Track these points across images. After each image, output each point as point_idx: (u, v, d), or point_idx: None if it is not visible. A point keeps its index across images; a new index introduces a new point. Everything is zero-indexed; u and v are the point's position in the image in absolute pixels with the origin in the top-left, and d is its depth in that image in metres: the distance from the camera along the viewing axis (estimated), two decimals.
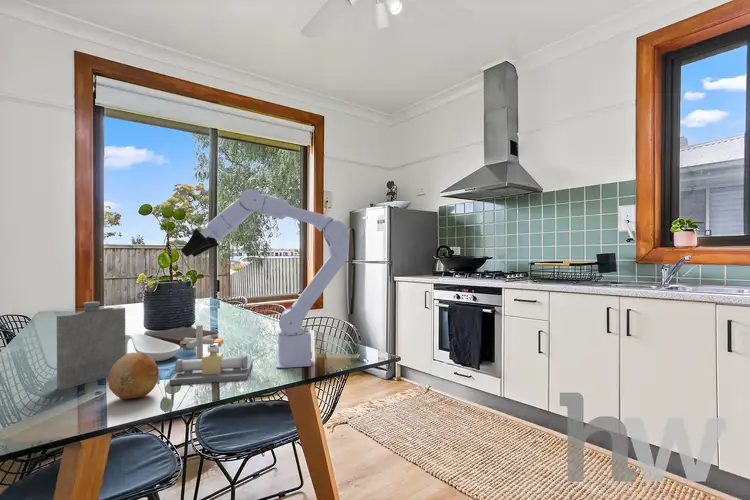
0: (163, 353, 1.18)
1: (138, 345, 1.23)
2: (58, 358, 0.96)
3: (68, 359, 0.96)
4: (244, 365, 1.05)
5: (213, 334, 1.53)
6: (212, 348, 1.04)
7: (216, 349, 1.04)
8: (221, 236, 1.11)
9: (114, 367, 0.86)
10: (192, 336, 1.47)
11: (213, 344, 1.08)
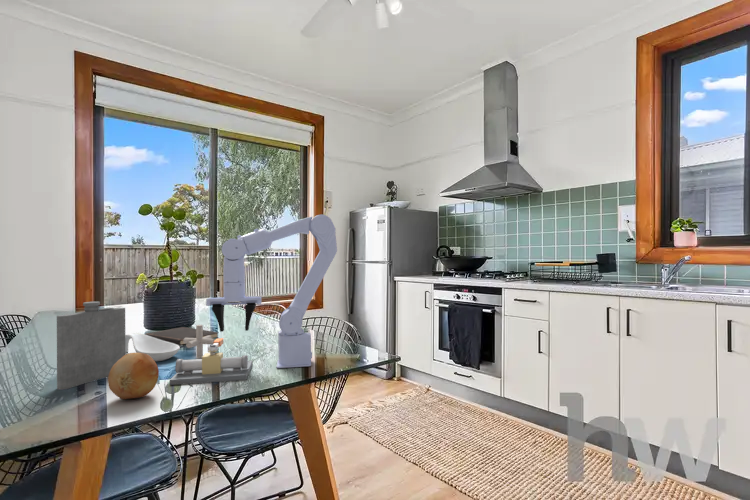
0: (162, 353, 1.18)
1: (138, 345, 1.23)
2: (58, 358, 0.96)
3: (68, 359, 0.96)
4: (244, 365, 1.05)
5: (213, 334, 1.53)
6: (212, 348, 1.04)
7: (216, 349, 1.04)
8: (227, 296, 1.10)
9: (114, 367, 0.86)
10: (192, 336, 1.47)
11: (213, 344, 1.08)
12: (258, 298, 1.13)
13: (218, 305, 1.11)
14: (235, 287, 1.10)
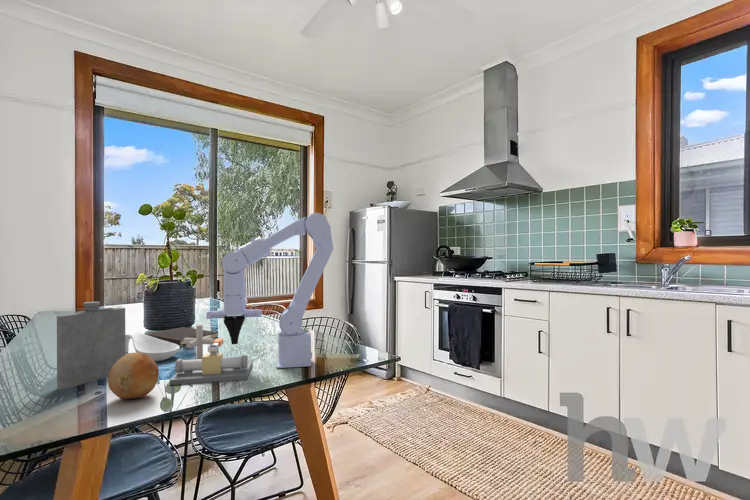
0: (162, 353, 1.18)
1: (138, 345, 1.23)
2: (58, 358, 0.96)
3: (68, 359, 0.96)
4: (244, 365, 1.05)
5: (213, 334, 1.53)
6: (212, 348, 1.04)
7: (216, 349, 1.04)
8: (227, 309, 1.10)
9: (114, 367, 0.86)
10: (192, 336, 1.47)
11: (213, 344, 1.08)
12: (258, 311, 1.13)
13: (230, 318, 1.11)
14: (235, 300, 1.10)
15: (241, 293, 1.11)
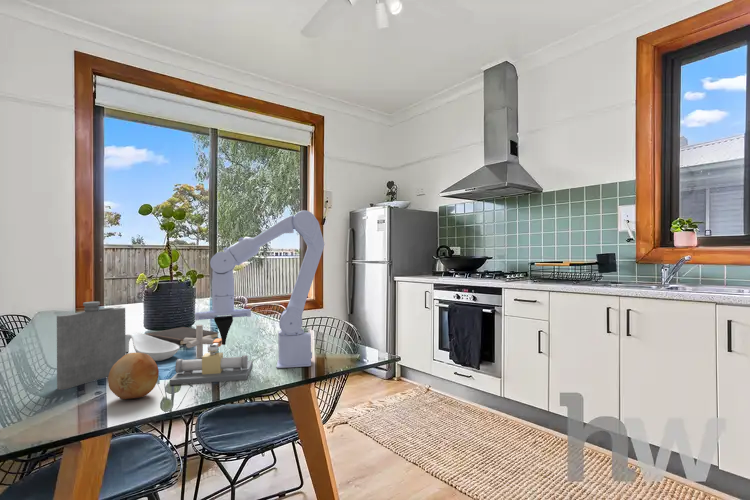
0: (161, 353, 1.18)
1: (138, 345, 1.23)
2: (58, 358, 0.96)
3: (68, 359, 0.96)
4: (244, 365, 1.05)
5: (213, 334, 1.53)
6: (212, 348, 1.04)
7: (216, 349, 1.04)
8: (218, 309, 1.09)
9: (114, 367, 0.86)
10: (192, 336, 1.47)
11: (213, 344, 1.08)
12: (248, 311, 1.14)
13: (220, 318, 1.11)
14: (226, 301, 1.10)
15: (230, 293, 1.10)
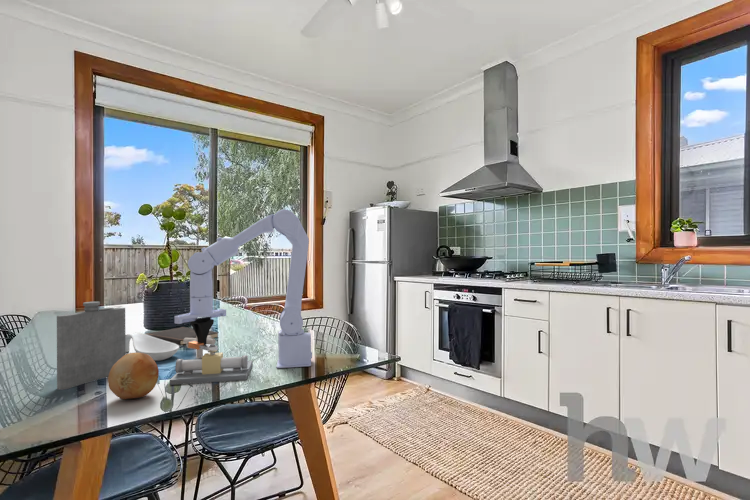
0: (161, 353, 1.18)
1: (138, 344, 1.24)
2: (58, 358, 0.96)
3: (68, 359, 0.96)
4: (244, 365, 1.05)
5: (213, 334, 1.53)
6: (215, 347, 1.04)
7: None
8: (202, 311, 1.07)
9: (114, 367, 0.86)
10: (192, 336, 1.47)
11: (203, 345, 1.06)
12: (224, 310, 1.15)
13: (202, 320, 1.09)
14: (210, 301, 1.09)
15: (208, 294, 1.09)
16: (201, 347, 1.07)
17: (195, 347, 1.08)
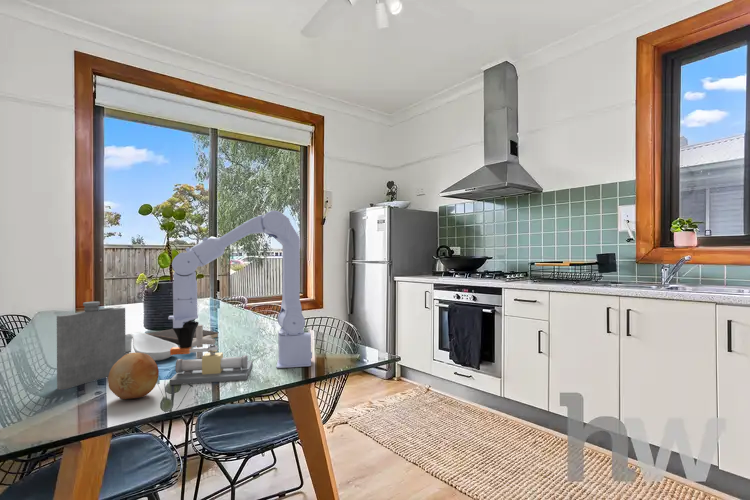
0: (159, 353, 1.18)
1: (138, 344, 1.24)
2: (58, 358, 0.96)
3: (68, 359, 0.96)
4: (244, 365, 1.05)
5: (213, 334, 1.53)
6: (217, 347, 1.05)
7: None
8: (194, 313, 1.04)
9: (114, 367, 0.86)
10: None
11: (198, 348, 1.04)
12: None
13: (188, 323, 1.04)
14: None
15: (194, 296, 1.04)
16: (195, 350, 1.03)
17: (185, 352, 1.03)
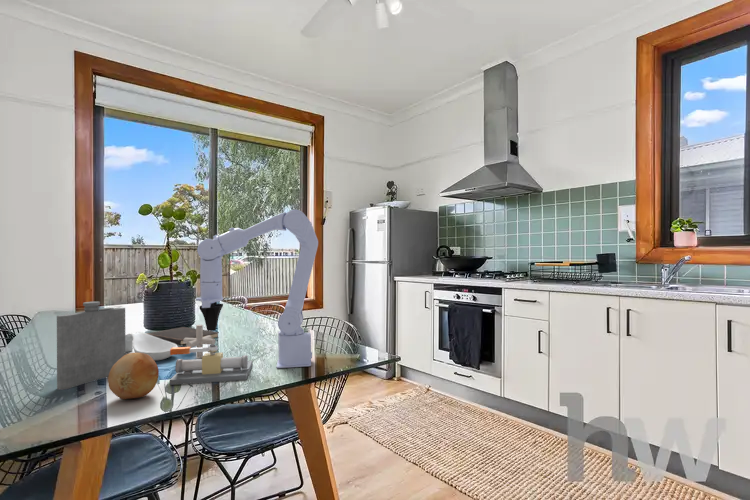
0: (158, 353, 1.18)
1: (138, 344, 1.24)
2: (58, 358, 0.96)
3: (68, 359, 0.96)
4: (244, 365, 1.05)
5: (214, 334, 1.53)
6: (217, 347, 1.05)
7: None
8: (219, 295, 1.12)
9: (114, 367, 0.86)
10: (193, 336, 1.48)
11: (198, 348, 1.04)
12: None
13: (214, 304, 1.12)
14: None
15: (217, 280, 1.12)
16: (195, 350, 1.03)
17: (185, 352, 1.03)
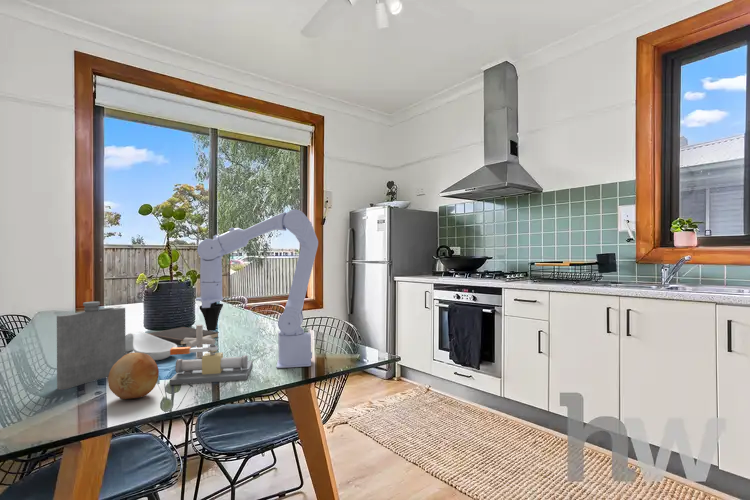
0: (157, 353, 1.18)
1: (138, 344, 1.25)
2: (58, 358, 0.96)
3: (68, 359, 0.96)
4: (244, 365, 1.05)
5: (214, 334, 1.53)
6: (217, 347, 1.05)
7: None
8: (219, 295, 1.12)
9: (114, 367, 0.86)
10: (193, 336, 1.48)
11: (198, 348, 1.04)
12: None
13: (214, 304, 1.12)
14: None
15: (217, 280, 1.12)
16: (195, 350, 1.03)
17: (185, 352, 1.03)
